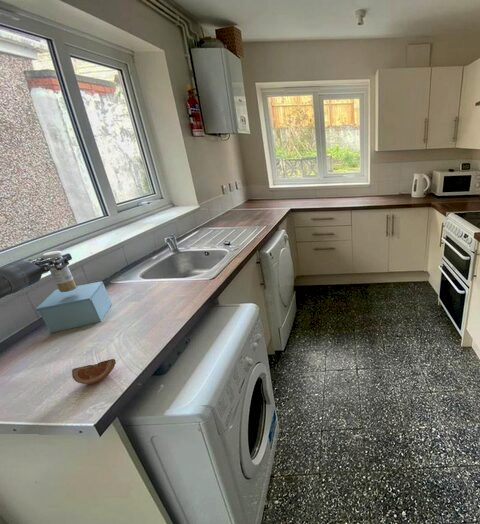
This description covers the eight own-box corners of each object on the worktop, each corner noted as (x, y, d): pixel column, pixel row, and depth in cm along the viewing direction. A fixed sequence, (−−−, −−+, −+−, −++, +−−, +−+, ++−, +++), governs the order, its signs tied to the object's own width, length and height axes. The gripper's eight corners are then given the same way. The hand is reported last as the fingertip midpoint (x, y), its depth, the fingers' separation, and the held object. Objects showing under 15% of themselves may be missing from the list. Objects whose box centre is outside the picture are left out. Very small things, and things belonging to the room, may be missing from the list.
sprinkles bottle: (72, 286, 100) (55, 249, 95) (80, 287, 98) (64, 250, 93) (56, 292, 96) (38, 254, 91) (64, 293, 94) (46, 255, 89)
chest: (101, 321, 99) (91, 299, 96) (50, 332, 94) (37, 310, 91) (111, 303, 111) (103, 283, 107) (67, 313, 106) (56, 292, 102)
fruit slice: (122, 365, 78) (116, 351, 76) (116, 382, 72) (108, 367, 71) (84, 376, 75) (76, 361, 73) (74, 394, 69) (65, 379, 67)
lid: (90, 300, 95) (89, 298, 95) (36, 311, 90) (35, 309, 90) (103, 283, 107) (102, 281, 107) (56, 291, 102) (55, 289, 102)
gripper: (34, 263, 79) (80, 244, 95) (-24, 268, 78) (32, 248, 93) (46, 287, 82) (89, 265, 98) (-10, 292, 80) (43, 269, 96)
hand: (61, 256), depth 95 cm, fingers closed on sprinkles bottle, 4 cm apart
